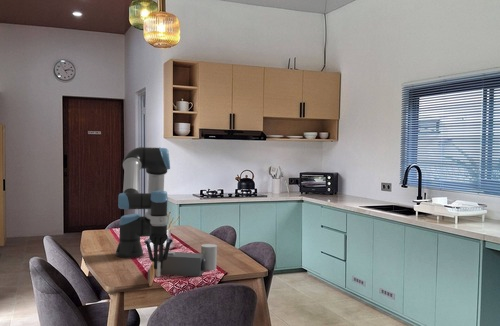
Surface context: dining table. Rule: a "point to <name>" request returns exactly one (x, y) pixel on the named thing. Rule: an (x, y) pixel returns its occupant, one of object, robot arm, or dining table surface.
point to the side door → (151, 274)
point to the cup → (210, 255)
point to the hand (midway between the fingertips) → (158, 275)
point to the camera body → (184, 264)
